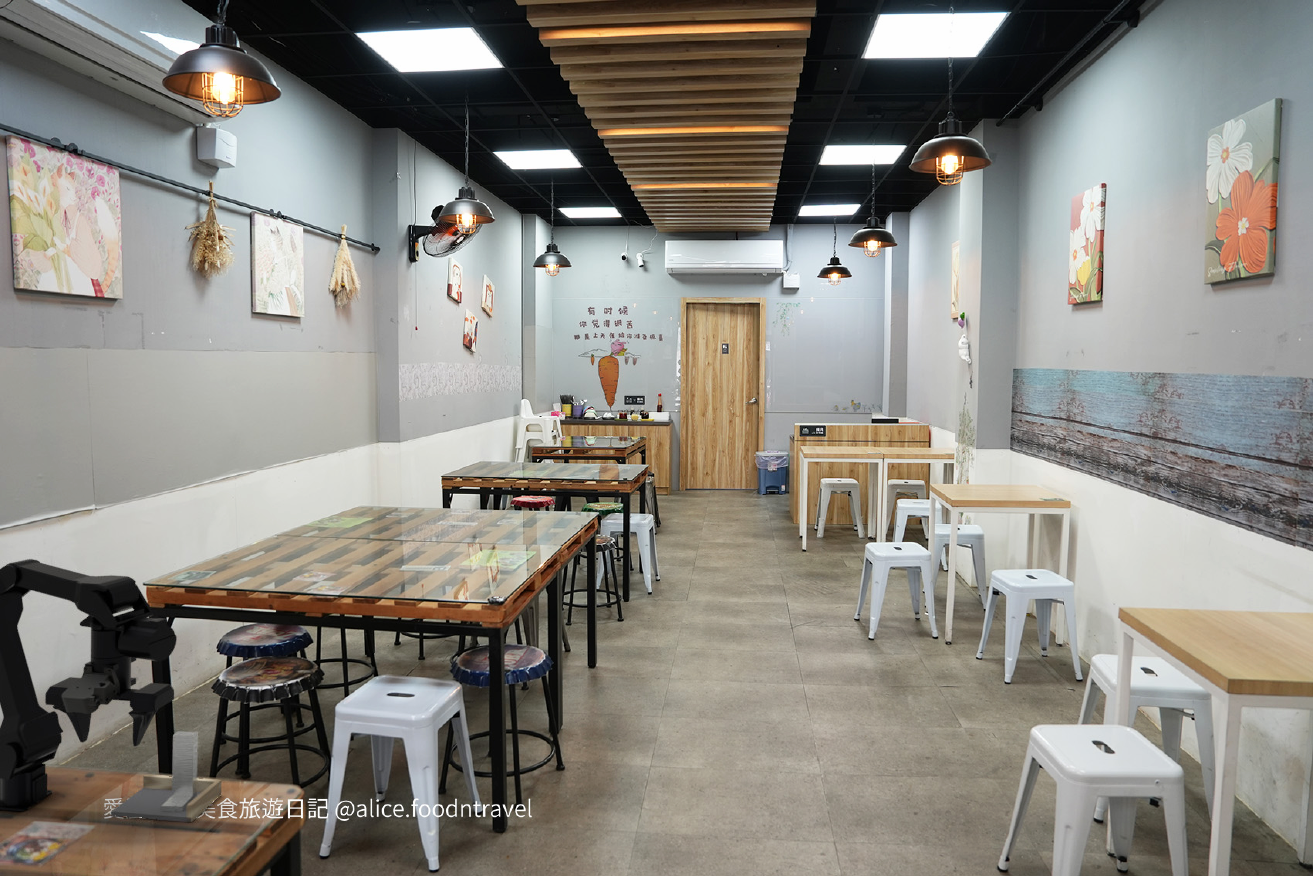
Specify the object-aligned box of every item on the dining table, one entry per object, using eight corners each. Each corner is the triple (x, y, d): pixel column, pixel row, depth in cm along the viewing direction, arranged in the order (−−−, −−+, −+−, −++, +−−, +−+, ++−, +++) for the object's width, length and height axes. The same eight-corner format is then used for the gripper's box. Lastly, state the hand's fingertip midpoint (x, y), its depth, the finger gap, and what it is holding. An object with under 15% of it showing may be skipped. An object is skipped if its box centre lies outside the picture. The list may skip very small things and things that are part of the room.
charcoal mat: (111, 816, 140) (111, 811, 140) (146, 790, 149) (146, 785, 149) (191, 822, 140) (191, 817, 140) (221, 796, 149) (221, 791, 149)
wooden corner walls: (111, 816, 140) (111, 799, 140) (146, 790, 149) (146, 774, 149) (191, 822, 140) (191, 805, 140) (221, 796, 149) (221, 780, 149)
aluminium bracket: (196, 797, 146) (197, 732, 146) (182, 812, 141) (183, 744, 141) (176, 797, 146) (177, 731, 145) (161, 811, 141) (162, 743, 140)
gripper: (18, 665, 130) (17, 761, 131) (132, 674, 130) (131, 769, 131) (71, 643, 141) (70, 732, 142) (176, 651, 141) (175, 739, 142)
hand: (110, 743), depth 139 cm, fingers open, 9 cm apart
